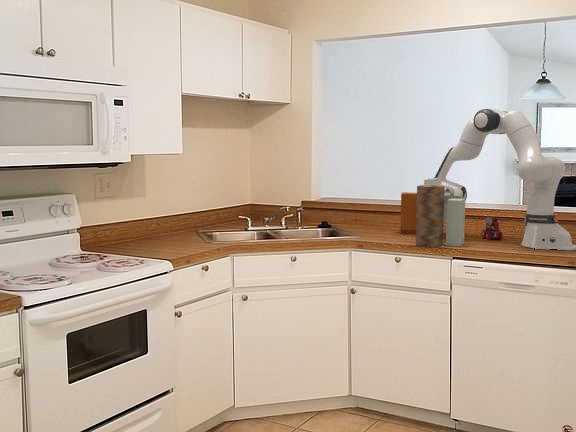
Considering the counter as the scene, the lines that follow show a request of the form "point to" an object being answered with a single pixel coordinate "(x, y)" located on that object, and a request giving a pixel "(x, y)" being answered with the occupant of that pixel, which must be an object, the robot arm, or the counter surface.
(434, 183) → the aluminium bar
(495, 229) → the toy fire truck
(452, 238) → the green block
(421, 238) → the walnut box
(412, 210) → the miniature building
